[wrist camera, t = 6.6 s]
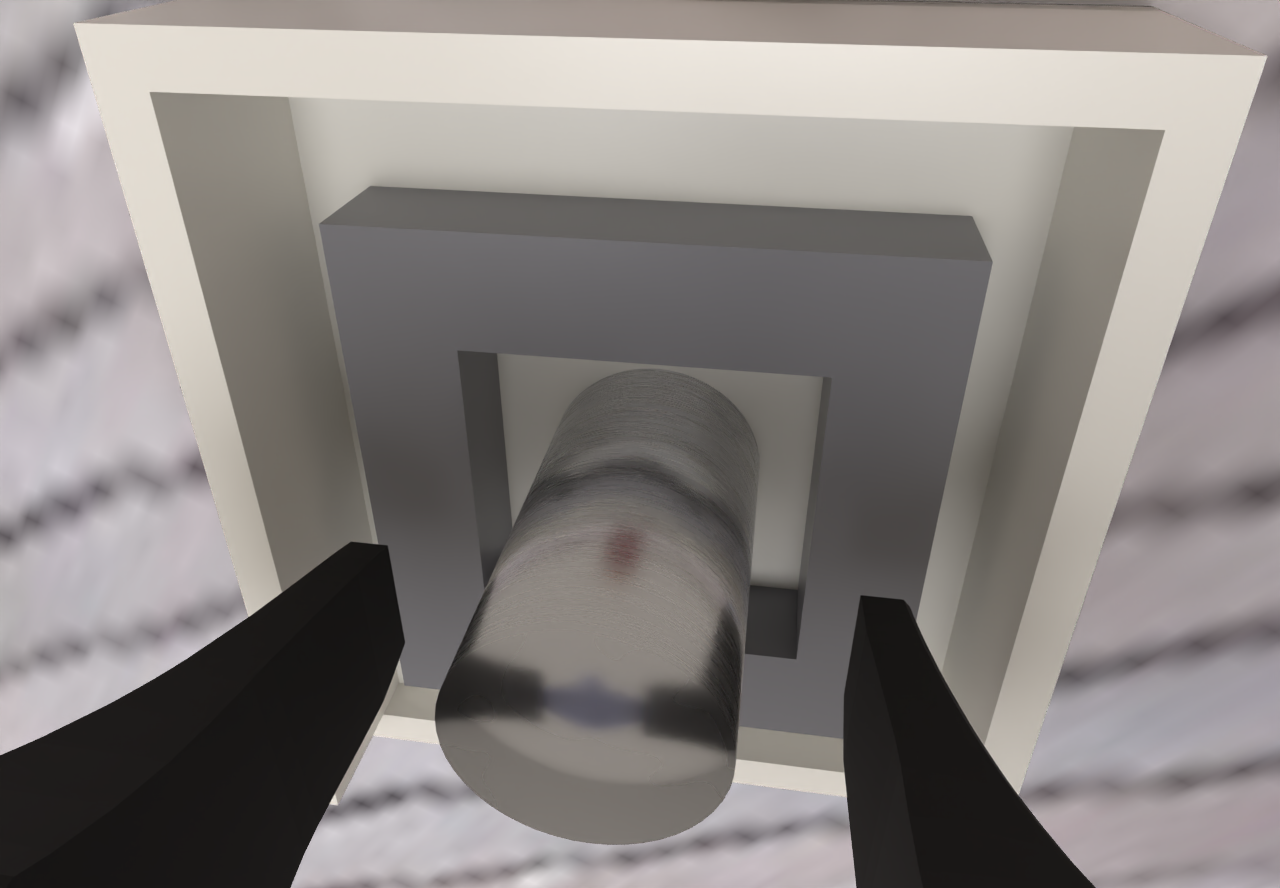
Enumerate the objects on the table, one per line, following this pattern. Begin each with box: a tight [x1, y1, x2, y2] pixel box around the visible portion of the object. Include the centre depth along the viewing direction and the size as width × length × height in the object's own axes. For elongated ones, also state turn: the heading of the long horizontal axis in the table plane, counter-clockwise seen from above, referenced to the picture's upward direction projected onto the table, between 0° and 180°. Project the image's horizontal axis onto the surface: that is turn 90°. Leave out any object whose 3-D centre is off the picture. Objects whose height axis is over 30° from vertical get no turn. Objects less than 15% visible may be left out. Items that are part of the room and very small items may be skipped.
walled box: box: [73, 0, 1267, 805], centre depth 17 cm, size 14×16×4 cm
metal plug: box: [435, 369, 760, 845], centre depth 15 cm, size 4×4×7 cm
